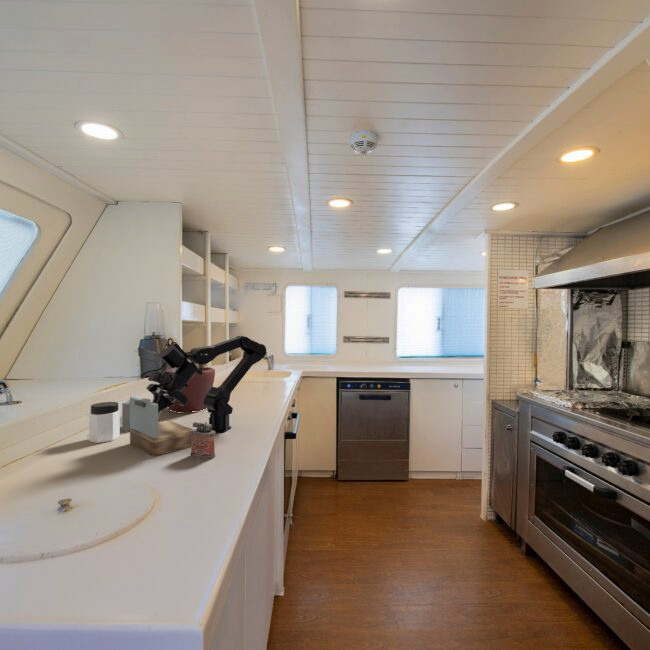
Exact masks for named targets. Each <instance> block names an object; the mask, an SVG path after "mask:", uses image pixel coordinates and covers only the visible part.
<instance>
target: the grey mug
mask: <svg viewBox="0 0 650 650" xmlns="http://www.w3.org/2000/svg"><path fill="white" fill-rule="evenodd" d="M142 399H143V400H146V401H149V402H152V399H151V398H142ZM121 408H122V411H121V413H122V414H121V415H122V417H121V418H122V420H121V421H122V422H121V423H122V430H123V431H126V430H130V399H127V400H124V401H122V404H121ZM161 415H162V411H160V412H158V418H160V417H161Z"/></svg>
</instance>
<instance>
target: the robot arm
mask: <svg viewBox="0 0 650 650" xmlns="http://www.w3.org/2000/svg"><path fill="white" fill-rule="evenodd" d="M237 349H241V351H243V353H242V354H243V355H242V358H241V359H240V361H239V362H238V363H237V365H236V366H235V367H234V368H233V370H231V372H230V373H229V375H227V377H226V378H225V379H224V380H223V382H222V383H221V384H220V385H219V386H213V387H212V388H211V389H210V391H209V392H208V393H207V394H205V395H206V397H205V398H204V406H205V407H206V408H207V409H206V410H207V412H208V413H209V417H208V424H211V430H212V431H215V433H225V432H227V431H229V430H230V429H232V426H230V415H232V413H233V410H234V407H232V406H231V405H230V404H229V402H230V399H231V395H232V392H233V391H234V389H235V388H236V387H237V386H238V384H240V382H241V380H242V379H243V378H244V376H246V374H247V373H248V371H249V370H250V369H251V368H252V366H253V365H255V364H257V363H258V362H260V361H261V360H263V358H265V357H266V355H267V353H268V352H267V348H266V345H265V344H263V343H259V342H257V341H255V340H254V339H251V338H249V337H248V336H246V335H237V336H235V337H233V338H229V339H227V340H224V341H221V342H219V343H215V344H212V345H207V346H199V347H193V348H191V349H190V351H186V352H185V351H184V350H183V349H182V347H181V346H180V344H179V343H177V342H173V343H172V344H171V345H169V346H167V347H166V348H164V349H162V351H160V353H159V354H158V356H159V358H160V359H161V360H162V361H163V362H164V363H166V365H168V367H170V369H172V368H178V369H177V370H176V371H175V372H174V373H173V374H170V372H167V371H165V370H163V371H162V372H160V371H157V370H155V371H154V370H151V372H150V375H149V376H148V379H147V381H150V382H155V383H149V384H148V386H146V387H145V389H146V390H147V391H149V393H151V394H152V395H153V399H152V400H151V402H152V403H156V404H158V412H160V411H161V412H162V411H163V410H165V409H169V407H170V406H172V405H174V403H173V402H174V401H175V400H177V401H178V402H179V405H182V406H184V405H185V404H186V403H187V402H188V397H187V396H186V395H185V394H183V393H182V392H181V390H182V389H183V388H184V387H185V388H187V387H188V384H187V383H188V382H189V381H190V380H191V378H192V377H193V376H194V375H195V374H196V375H202V367H199V366H198V364H204V365H206V364H209V363H211V362H212V361H214V360H215V359H216V358H217V357H218V356H220V355H223V354H226V353H229V352H231V351H234V350H237Z"/></svg>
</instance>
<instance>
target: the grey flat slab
mask: <svg viewBox="0 0 650 650" xmlns="http://www.w3.org/2000/svg"><path fill="white" fill-rule="evenodd" d="M143 399H144V398H139V397H136V396H130V397H129V400H130V428H132V429H134V430H136V431H139V432H141V433H143V434H145V435H147V436H149V437H152V438H154V439H155V438H158V423H159V417H158V404H156V403H152V401H151V402H149V401H146V400H143Z"/></svg>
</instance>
